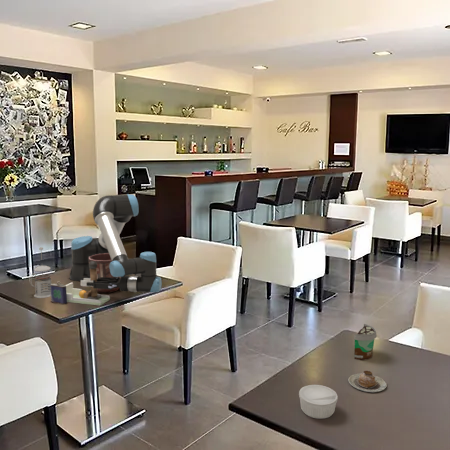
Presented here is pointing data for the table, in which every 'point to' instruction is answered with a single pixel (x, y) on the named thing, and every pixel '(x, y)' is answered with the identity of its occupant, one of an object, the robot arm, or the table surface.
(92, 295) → the kicker
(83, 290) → the ball
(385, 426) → the table surface
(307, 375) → the table surface
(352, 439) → the table surface
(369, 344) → the food container
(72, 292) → the pale green tray
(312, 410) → the ramekin
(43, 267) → the french press
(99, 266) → the pottery
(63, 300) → the flask
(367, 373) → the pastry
